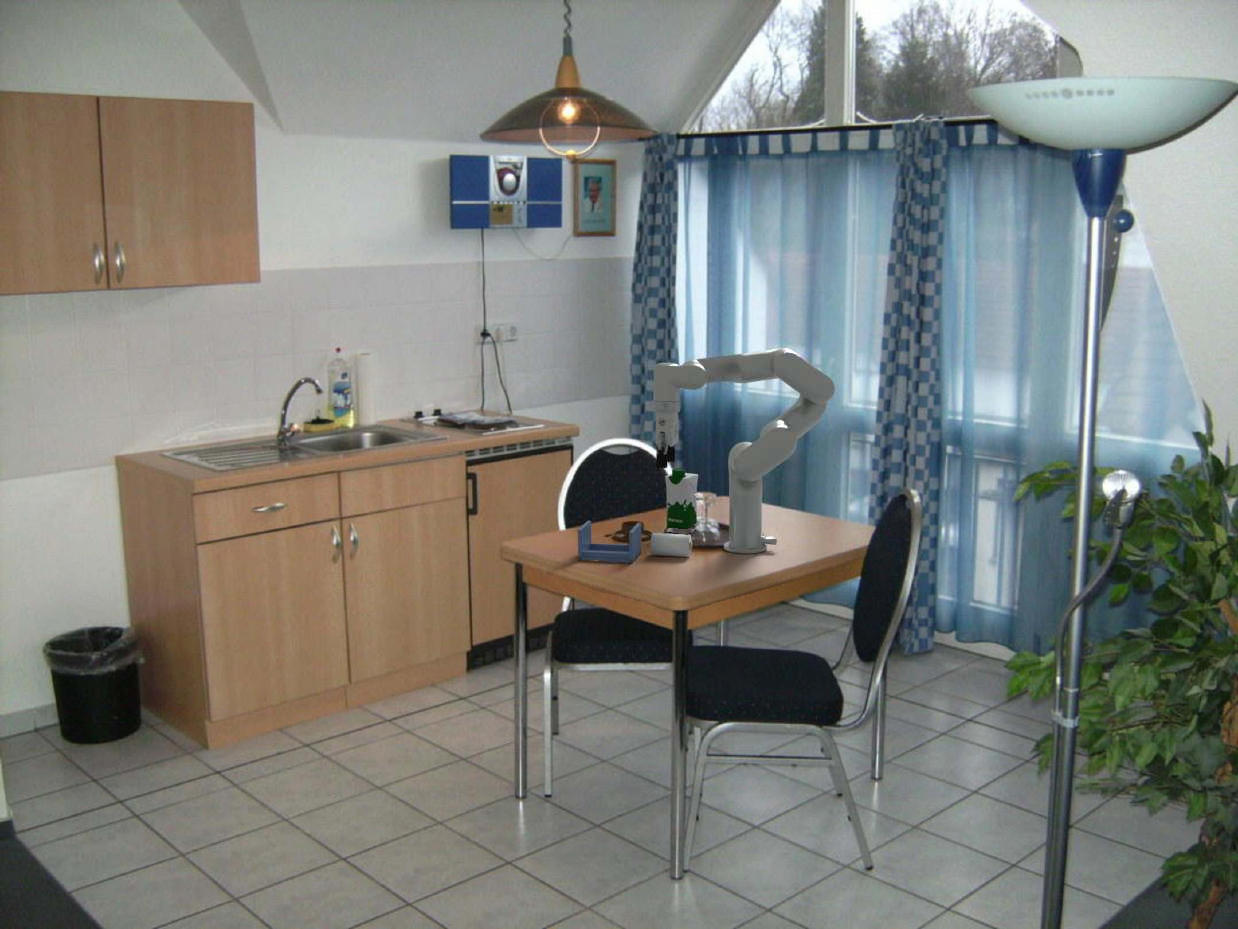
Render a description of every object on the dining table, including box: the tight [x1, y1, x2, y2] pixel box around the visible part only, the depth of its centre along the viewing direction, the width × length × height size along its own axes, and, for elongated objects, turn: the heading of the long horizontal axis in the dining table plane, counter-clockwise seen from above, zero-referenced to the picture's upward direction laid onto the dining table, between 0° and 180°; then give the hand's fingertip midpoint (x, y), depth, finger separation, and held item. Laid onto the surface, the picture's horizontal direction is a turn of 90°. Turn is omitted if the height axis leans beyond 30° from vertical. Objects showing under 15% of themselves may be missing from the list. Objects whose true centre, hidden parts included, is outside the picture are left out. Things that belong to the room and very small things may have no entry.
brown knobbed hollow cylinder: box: [604, 520, 653, 546], centre depth 385 cm, size 18×20×6 cm
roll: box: [649, 532, 693, 558], centre depth 367 cm, size 12×6×6 cm, turn 77°
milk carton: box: [664, 468, 699, 530], centre depth 393 cm, size 9×9×20 cm
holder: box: [577, 520, 642, 564], centre depth 366 cm, size 16×11×9 cm
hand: (665, 464), depth 368 cm, fingers open, 9 cm apart
